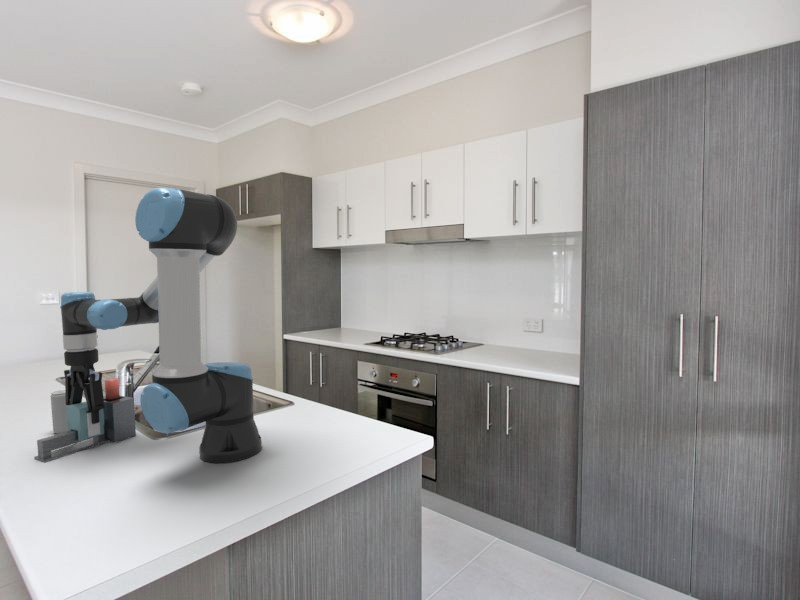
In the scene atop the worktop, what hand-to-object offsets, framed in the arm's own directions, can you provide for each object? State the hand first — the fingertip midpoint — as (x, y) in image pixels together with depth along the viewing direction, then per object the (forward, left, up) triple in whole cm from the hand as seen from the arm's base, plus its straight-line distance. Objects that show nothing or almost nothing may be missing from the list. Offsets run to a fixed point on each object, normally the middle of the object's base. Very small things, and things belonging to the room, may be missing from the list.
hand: (86, 432), depth 125 cm
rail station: (0, 0, -3) cm, 4 cm away
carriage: (0, 0, -1) cm, 1 cm away
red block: (0, -8, +8) cm, 11 cm away
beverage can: (+19, -4, -4) cm, 20 cm away
